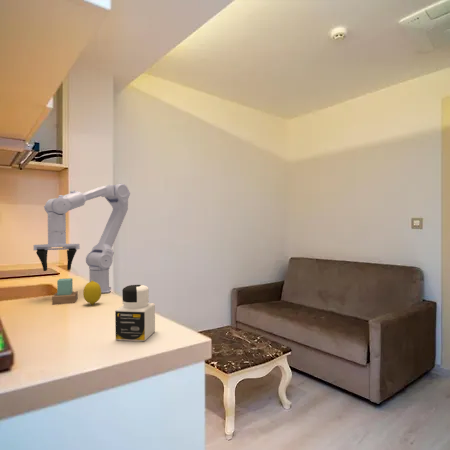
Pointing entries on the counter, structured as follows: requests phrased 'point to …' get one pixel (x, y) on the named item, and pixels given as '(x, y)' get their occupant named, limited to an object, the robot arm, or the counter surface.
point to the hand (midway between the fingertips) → (57, 270)
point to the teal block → (64, 286)
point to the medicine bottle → (135, 315)
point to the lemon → (92, 292)
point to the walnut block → (65, 298)
